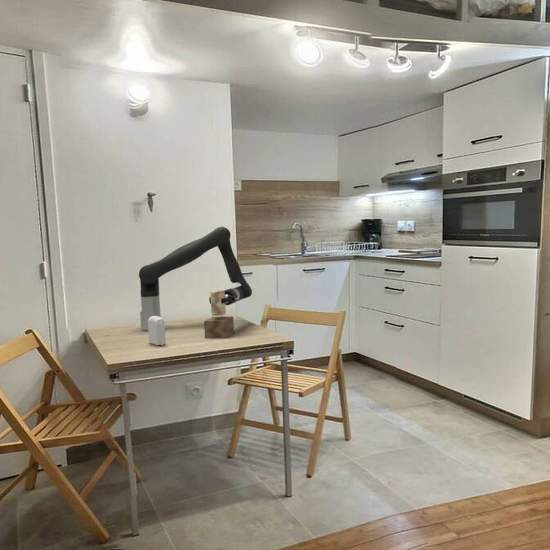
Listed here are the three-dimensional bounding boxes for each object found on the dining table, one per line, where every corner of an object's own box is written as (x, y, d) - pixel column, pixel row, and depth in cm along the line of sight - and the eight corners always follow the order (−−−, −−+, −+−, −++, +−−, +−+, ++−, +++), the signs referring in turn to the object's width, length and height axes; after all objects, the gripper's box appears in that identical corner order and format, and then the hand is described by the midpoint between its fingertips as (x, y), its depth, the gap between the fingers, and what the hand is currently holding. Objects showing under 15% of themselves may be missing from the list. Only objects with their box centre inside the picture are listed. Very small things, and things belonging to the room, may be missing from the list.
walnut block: (205, 338, 213) (204, 321, 212) (214, 333, 225) (213, 316, 224) (225, 338, 211) (224, 320, 210) (234, 333, 222) (233, 316, 222)
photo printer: (147, 343, 207) (146, 315, 206) (156, 341, 210) (155, 314, 209) (158, 346, 199) (156, 317, 198) (167, 344, 202) (165, 316, 201)
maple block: (211, 315, 215) (210, 291, 214) (216, 313, 220) (214, 290, 219) (221, 315, 214) (220, 291, 213) (225, 313, 219) (224, 290, 218)
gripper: (216, 289, 232) (201, 293, 216) (243, 288, 228) (230, 293, 212) (217, 304, 233) (202, 309, 217) (244, 303, 229) (231, 309, 213)
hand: (216, 301), depth 214 cm, fingers closed on maple block, 5 cm apart
